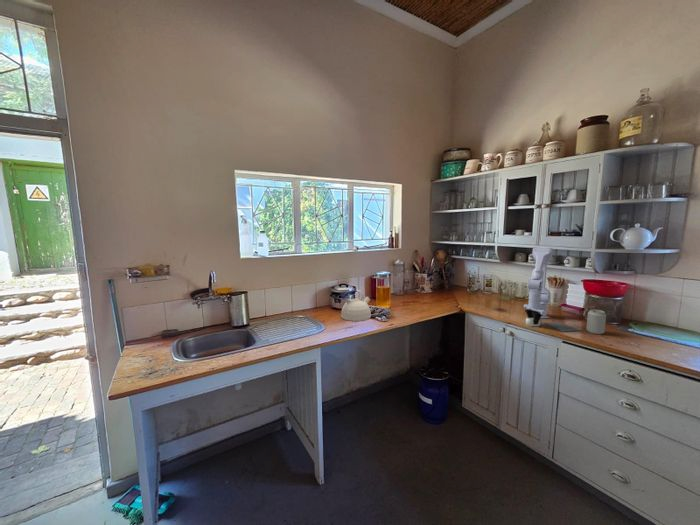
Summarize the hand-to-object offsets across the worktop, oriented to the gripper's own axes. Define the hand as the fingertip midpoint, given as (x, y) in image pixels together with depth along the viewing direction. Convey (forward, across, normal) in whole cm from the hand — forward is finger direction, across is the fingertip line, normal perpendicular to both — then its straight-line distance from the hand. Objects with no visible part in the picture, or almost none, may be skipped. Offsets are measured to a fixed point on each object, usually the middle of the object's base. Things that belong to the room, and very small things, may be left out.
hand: (533, 322), depth 165 cm
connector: (+1, 0, 0) cm, 1 cm away
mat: (+1, +5, +13) cm, 14 cm away
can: (+2, +15, +24) cm, 28 cm away
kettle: (+2, -34, -100) cm, 106 cm away
